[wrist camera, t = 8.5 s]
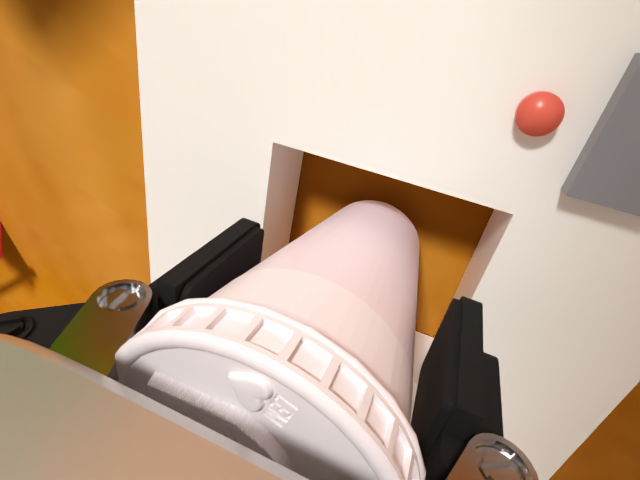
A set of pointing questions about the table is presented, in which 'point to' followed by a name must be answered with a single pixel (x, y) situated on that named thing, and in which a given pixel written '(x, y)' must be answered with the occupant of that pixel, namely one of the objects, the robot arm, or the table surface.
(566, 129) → the socket plate
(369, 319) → the smoothie
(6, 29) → the table surface
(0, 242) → the glasses
